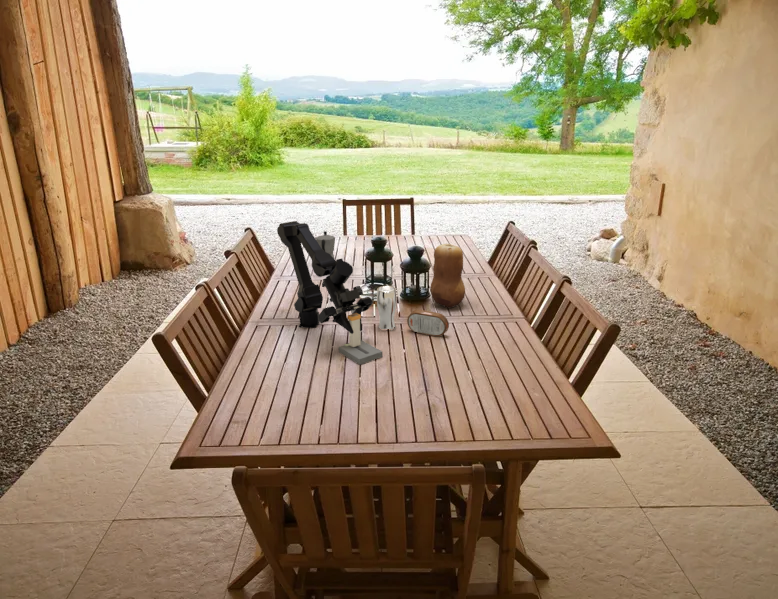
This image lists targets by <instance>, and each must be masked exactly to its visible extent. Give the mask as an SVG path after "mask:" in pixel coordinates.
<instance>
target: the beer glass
mask: <svg viewBox="0 0 778 599" xmlns="http://www.w3.org/2000/svg"><path fill="white" fill-rule="evenodd" d="M396 289H397V288H396V287H394V286H391V285H382V286H379V287H377V290H376V305H377V306H376V307H377V312H378V316H379V323H378V329H379V328H381V329H393V328H394V327H395V328H396V323H395V313H396V306H397V292H396V291H397V290H396Z"/></svg>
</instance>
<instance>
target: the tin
mask: <svg viewBox="0 0 778 599" xmlns="http://www.w3.org/2000/svg"><path fill="white" fill-rule="evenodd" d="M406 322H407V326H408V328H409V329H410V330H411V331H412V332H414V333H415V332H417V333H416V334H419V333H422V334H421V335H425V334H427V336H430V337H431V336H432V337H441V336H443V335H444V334H446V333H447V332H448V330H449V326H450V323H449V320H448V318H447V317H446V316H445V315H444V314H442V313H440V312H435V311H429V310H425V309H414V310H412V311H411V313H410V314H409V315H408V316H407V321H406Z"/></svg>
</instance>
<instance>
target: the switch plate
mask: <svg viewBox="0 0 778 599" xmlns="http://www.w3.org/2000/svg"><path fill="white" fill-rule="evenodd" d="M360 341H361V345H359V346H356V347H352V346H350V342H348V343H345V344H342V345H340V346H338V353H340V354H341V355H343V356H345V357H346V358H348V359H350V360H351V361H352V362H354V363H356V364H358V365H363V364H366V362H367V363H369V361H370V362H372V360H373V361H375V360H374V359H376V360H378V359H381V358H383V351H382V350H381V349H379V348H377V347H375V346H373V345H372V344H370V343H368V342H367V341H365V340H363V339H360ZM380 357H381V358H380ZM377 358H378V359H377Z"/></svg>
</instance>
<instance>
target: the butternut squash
mask: <svg viewBox="0 0 778 599" xmlns="http://www.w3.org/2000/svg"><path fill="white" fill-rule="evenodd" d="M433 258H434V259H433V260H434V261H433V266H432V267H433V268H432V269H433V278H432V281H431V284H430V286H429V290H430V294H431V298H432V300H433V301H434V302H435V304H438V305H439V306H440V305H441V306H443V307H444V308H447V309H448V308H450V309H452V308H454V307H457V306H458V305H461V303H462V302H463V301H464V298H465V296H466V287H465V284H464V281H463V278H462V273H463V269H464V251H463V250H462V248H460V247H459V246H458V245H455V244H452V243H443V244H439V245H438V246H436V248H435V249H434V251H433Z"/></svg>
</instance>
